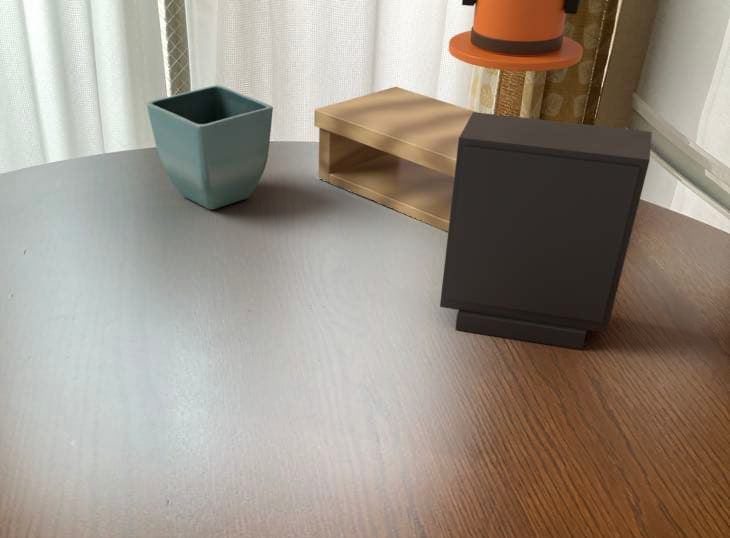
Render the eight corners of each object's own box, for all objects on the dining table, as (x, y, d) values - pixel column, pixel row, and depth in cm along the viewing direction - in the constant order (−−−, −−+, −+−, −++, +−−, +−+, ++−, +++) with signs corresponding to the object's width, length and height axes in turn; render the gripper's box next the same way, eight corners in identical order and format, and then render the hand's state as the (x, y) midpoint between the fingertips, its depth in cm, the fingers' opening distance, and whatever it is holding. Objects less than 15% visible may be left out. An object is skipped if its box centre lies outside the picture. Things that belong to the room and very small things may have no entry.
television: (601, 353, 71) (649, 162, 61) (436, 327, 74) (457, 139, 64) (607, 312, 76) (652, 129, 67) (452, 288, 79) (474, 109, 69)
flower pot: (206, 223, 88) (199, 125, 82) (153, 196, 93) (143, 101, 87) (277, 200, 92) (275, 106, 86) (223, 175, 97) (218, 83, 91)
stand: (553, 212, 91) (566, 139, 87) (476, 247, 85) (486, 170, 80) (391, 153, 103) (395, 86, 98) (313, 179, 97) (314, 109, 92)
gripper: (388, -533, 45) (368, 6, 60) (805, -550, 41) (668, 31, 56) (420, -506, 50) (394, -17, 65) (791, -518, 46) (670, 4, 62)
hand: (521, 4), depth 61 cm, fingers closed on hat, 6 cm apart
